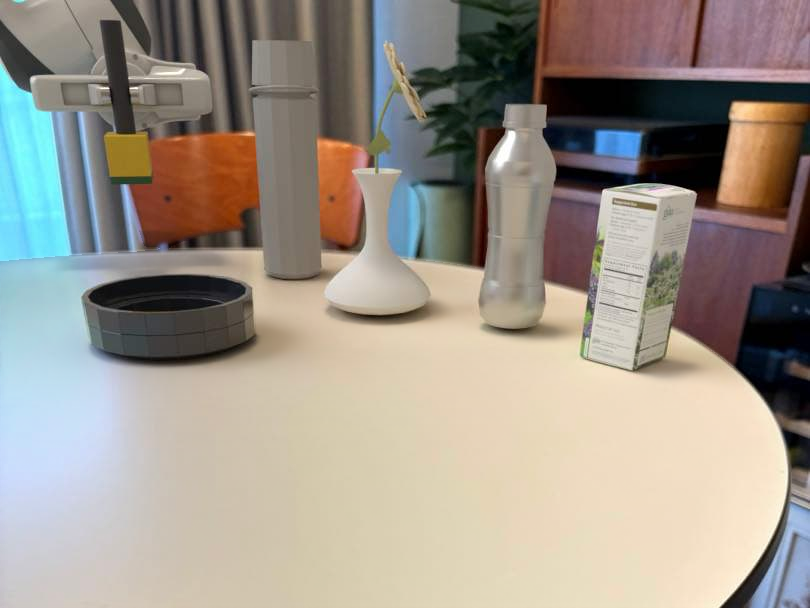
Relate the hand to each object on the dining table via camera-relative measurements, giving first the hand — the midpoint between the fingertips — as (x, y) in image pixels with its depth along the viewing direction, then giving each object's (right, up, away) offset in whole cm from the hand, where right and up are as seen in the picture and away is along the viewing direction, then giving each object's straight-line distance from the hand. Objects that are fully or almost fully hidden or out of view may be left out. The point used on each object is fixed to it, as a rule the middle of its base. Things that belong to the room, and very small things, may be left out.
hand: (120, 95), depth 92 cm
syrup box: (+52, -33, -16) cm, 63 cm away
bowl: (+10, -30, -13) cm, 34 cm away
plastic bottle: (+42, -28, -8) cm, 51 cm away
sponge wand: (0, -7, +5) cm, 9 cm away
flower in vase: (+29, -24, -2) cm, 38 cm away
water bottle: (+17, -16, +12) cm, 27 cm away
